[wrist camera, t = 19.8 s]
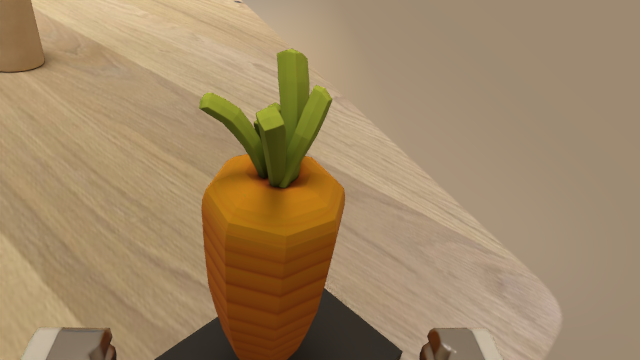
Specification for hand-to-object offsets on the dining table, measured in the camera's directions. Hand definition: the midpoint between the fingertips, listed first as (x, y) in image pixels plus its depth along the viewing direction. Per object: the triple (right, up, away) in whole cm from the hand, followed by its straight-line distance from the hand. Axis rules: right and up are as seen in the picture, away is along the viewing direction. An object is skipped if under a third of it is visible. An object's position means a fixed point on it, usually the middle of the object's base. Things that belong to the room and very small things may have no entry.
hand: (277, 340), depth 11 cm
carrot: (-2, -5, +10) cm, 11 cm away
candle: (-31, +16, +34) cm, 49 cm away
